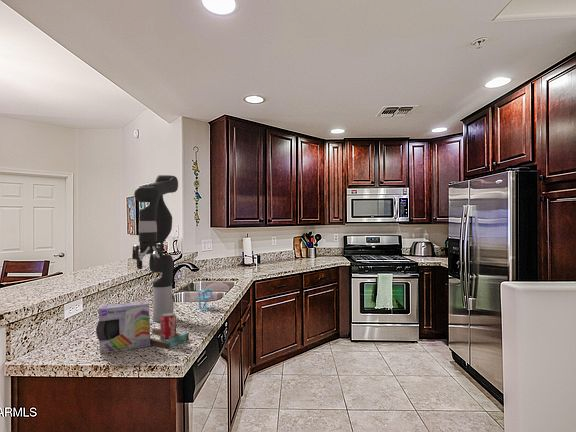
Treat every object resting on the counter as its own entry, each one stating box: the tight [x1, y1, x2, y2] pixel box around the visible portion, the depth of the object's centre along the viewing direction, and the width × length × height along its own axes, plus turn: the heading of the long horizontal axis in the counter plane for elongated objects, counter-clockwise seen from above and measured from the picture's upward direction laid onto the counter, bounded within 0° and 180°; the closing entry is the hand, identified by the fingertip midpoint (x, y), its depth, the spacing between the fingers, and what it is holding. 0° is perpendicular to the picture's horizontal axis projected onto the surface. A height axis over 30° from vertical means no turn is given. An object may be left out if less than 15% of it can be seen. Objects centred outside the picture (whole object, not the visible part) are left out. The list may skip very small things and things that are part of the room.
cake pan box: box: [95, 300, 151, 354], centre depth 138 cm, size 19×5×18 cm, turn 110°
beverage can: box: [159, 312, 177, 341], centre depth 143 cm, size 6×6×12 cm
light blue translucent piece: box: [196, 288, 215, 312], centre depth 198 cm, size 8×8×12 cm
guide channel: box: [150, 327, 190, 350], centre depth 147 cm, size 11×21×3 cm, turn 61°
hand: (148, 267), depth 154 cm, fingers open, 8 cm apart
